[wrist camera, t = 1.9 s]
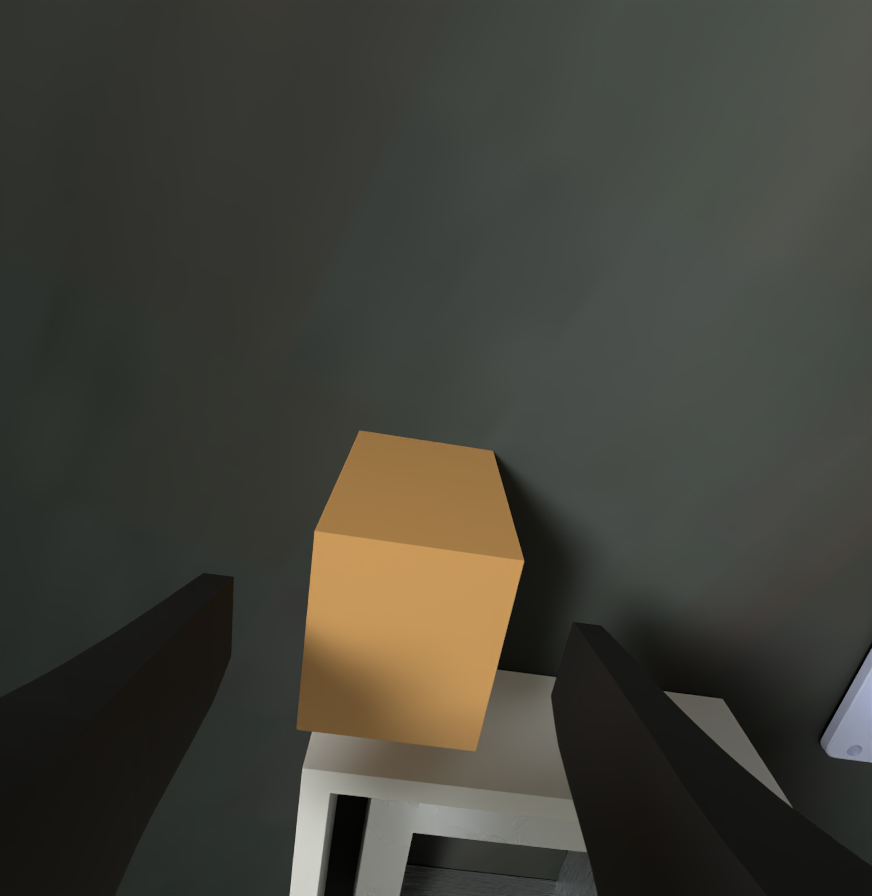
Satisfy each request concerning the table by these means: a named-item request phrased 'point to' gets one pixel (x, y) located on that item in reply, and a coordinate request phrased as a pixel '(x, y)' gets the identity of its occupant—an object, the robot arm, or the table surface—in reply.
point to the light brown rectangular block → (409, 594)
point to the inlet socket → (462, 892)
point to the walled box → (471, 768)
